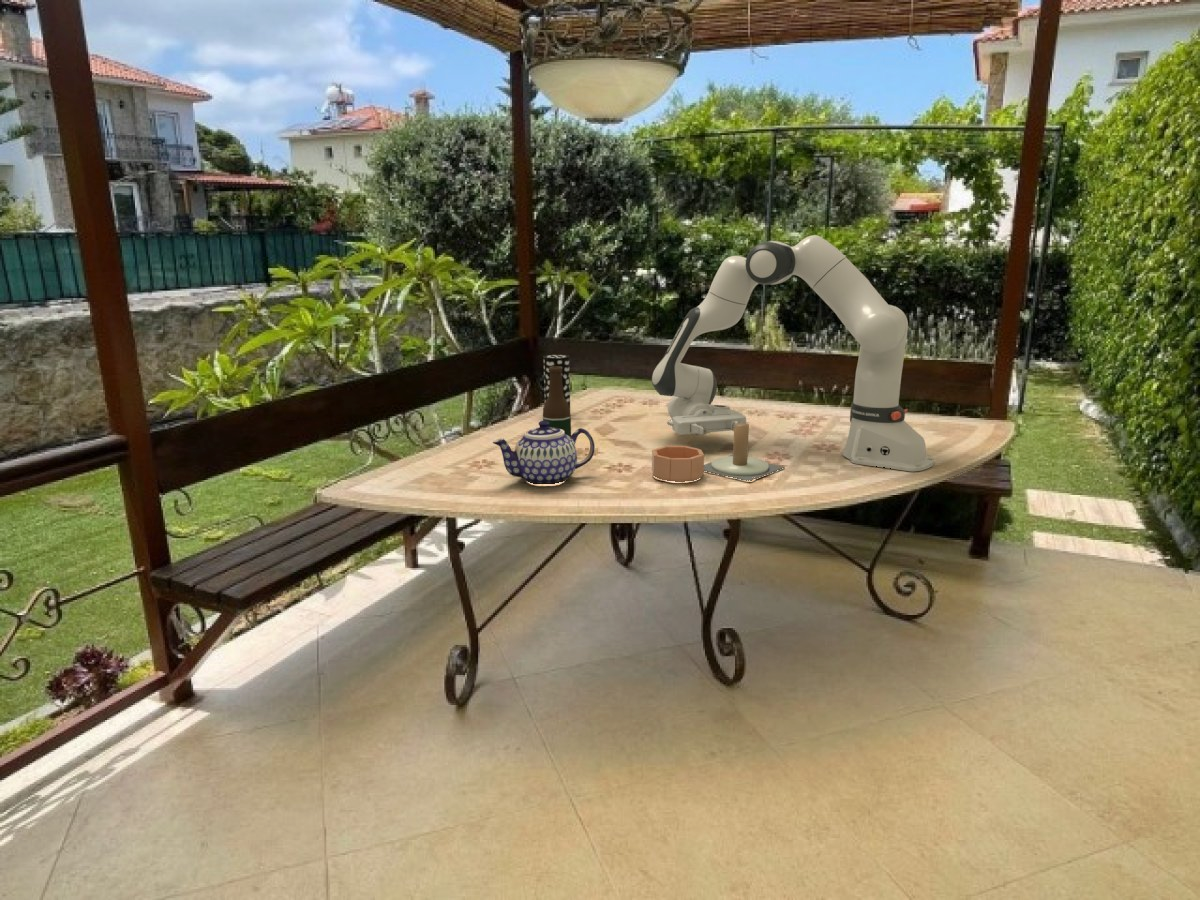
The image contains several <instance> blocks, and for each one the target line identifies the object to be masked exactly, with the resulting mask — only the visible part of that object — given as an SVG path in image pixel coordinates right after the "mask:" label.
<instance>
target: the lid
mask: <svg viewBox="0 0 1200 900" xmlns="http://www.w3.org/2000/svg"><path fill="white" fill-rule="evenodd" d="M749 435H750V424H749V423H747V422H746V423H736V424H734V431H733V444H732V445H733V447H732V456H730V455H728V456H722V457H717V458H714V459H713V460H712V461H711V462H712V466H711V467H712V469H713V470H715V471H717V472H720V473H723V474H728V475H736V476H752V475H759V474H763V473H765V472H767V471H768V468H769V465H768V463H769V462H767V461H765V460H763V459H760V458H757V457H752V456H748V455H749V437H750V436H749Z"/></svg>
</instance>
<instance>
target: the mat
mask: <svg viewBox="0 0 1200 900" xmlns="http://www.w3.org/2000/svg"><path fill="white" fill-rule="evenodd" d="M729 456H733V454H732V455H729ZM767 463H768V465H769V468H768V471H767V472H765V473H763V474H759V475H752V476H736V475H728V474H723V473H720V472H717V471H715V470H713V469H712V467H711V466H712V461H711V462H708V463H704V471H707V472H711V473H715V474H719V475H724V476H728V477H733V478H737V479H741V480H746V481H747V480H748V481H749V480H750V481H752V480H753V479H757V478H759V477H762V476H764V475H767V474H770V473H772V472H775V471H777V470H780V469H782V468H786V467H785V466H783V465H778V464H773V463H769V462H767ZM752 477H753V478H752ZM754 477H755V478H754Z"/></svg>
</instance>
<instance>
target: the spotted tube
mask: <svg viewBox="0 0 1200 900" xmlns="http://www.w3.org/2000/svg"><path fill="white" fill-rule="evenodd" d="M542 359H543V384H544V385H543V390H544V392H543V393H544V403H545V402H546V400H547V399H548V397H549V385H550V372H549V367H552V366H560V367H562V370H563V371H562V372H561V373H562V385H563V394H564V398H565V399H566V401H567V403H568V405H569V408H570V409H571V381H570V380H571V378H570V377H571V376H570V373H571V372H570V366H571V365H570V355H566V354H547V355H543V358H542Z"/></svg>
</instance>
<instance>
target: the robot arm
mask: <svg viewBox="0 0 1200 900" xmlns="http://www.w3.org/2000/svg"><path fill="white" fill-rule="evenodd" d="M794 276H797V277H799V278H801V279H802V280H803V281H804V282H806V284H807V285H808V286H809V287H810V288H811V289H812V290H813V291H814V292H815V293H816V294H817V295H818V297H820V299H821V300H822V301H823V302H824V303H825V304H826V305H827V306H828V307H829V308H830V309H831V310H832V312H834V313H835V315H836V316H837V318H838V319H839V321H841V323H842V325H843V326H844V327H845V328H846V329H847V331H848V332H849V333H850V334H851V336H852V337H853V338H854V339H855V340H856V341H857V343H858V344H859V352H858V353H859V354H858V360H857V365H856V370H855V379H854V389H853V401H852V402H851V404H850V412H849V423H850V425H849V430H848V435H847V439H846V443H845V445H844V448H843V451H842V456H843V457H844V458H847V459H848V460H850V462H851V463H852V464H856V465H861V466H862V465H863V466H871V467H876V466H877V468H883V467H885V468H884V469H890V468H891V470H896V471H904V472H920V471H924V470H928V469H929V468H931V467H933V466H934V465H935V458H934V457H933V456H930V455H927V446H926V441H925V438H924V437H923V436H922V435H921V434H919V432H917V431H916V429H914V428H913V427H912V426H911V425H909V423H908V422H907V421H905V417H906V414H907V413H908V408H905V409H904V408H903V407H902V406H900V404H899V402H900V391H901V383H902V382H901V381H902V375H903V374H902V373H903V367H904V359H905V353H906V352H905V351H906V346H907V336H908V329H909V328H908V327H909V322H908V318H907V315H906V314H905V312H904V311H903V310H902V309H900V308H899V307H897V306H894V305H892V304H888V302H887V301H886V300H885V299H884V298H883V296H881V294H880V293H879V292H878V290H877V289H876V288H875V287H874V286H873V285H872V283H871V282H870V280H869V279H868V278H867V277H866V276H865V275H864V274H863V273H862V272H861V271H860V270H859V269H858V267H856V265H854V264H853V263H852V262H851V260H850V259H848V258H847V256H846V255H844V253H842V251H840V250H839V249H838V248H837V247H835V246H834V245H833V244H832V243H830V242H829V241H828V240H826V239H825V238H823V237H822V236H819V235H817V234H814V235H809V236H806V237H803V239H801V240H800V241H799V242H798V243H797V244H795V245H791V244H789V243H787V242H783V241H779V240H771V241H770V240H769V241H764V242H760V243H757V244H756V245H755V246H754V247H753V248H751V250H750V251H749V252H748V253H747V256H746V257H744V256H742V255H741V256H739V255H731V256H729V257H726V258H725V259H724V260H723V261H722V263H721V265H720V266H719V268H718V270H717V272H716V273H715V275H714V277H713V280H712V282H711V285H710V288H709V290H708V293H706V297H705V298H704V299H703V300H702V301H701V302H700V303H699V305H697V306H696V307H693V308H692V309H689V311H688V313H686V315H685V316H684V318H683V320H682V322H681V324H680V325H679V327H678V328H677V330H676V333H675V335H674V337H673V339H672V340H671V342H670V343H669V346H668V347H667V349H666V351H665V353H664V354H663V356H662V358H661V359H660V360H659V362H658V363H657V364H656V366H655V367H654V369H653V372H652V375H651V384H652V386H653V388H654V390H655V391H656V392H657V393H658V394H659V396H664V397H672V398H671V399H670V400H669V402H668V403H667V412H668V415H669V417H670V418H671V419H670V420H668V421H667V422H666V423H667V425H669V426H670V427H672V431H673V432H674V433H676V434H677V435H680V436H681V435H692V434H694V435H696V436H705V435H707V434H710V433H716V432H717V433H718V432H728V431H732V432H734V424H736V423H746V424H747V417H746V415H745V414H743V413H742V412H740V411H737V410H735V409H731V407H730V406H728V405H721V404H720V405H719V404H712V403H713V401H714V399H715V397H716V393H717V389H718V382H717V379H716V376H715V374H714V372H713V371H712V370H711V368H706V367H701V366H698V365H692V364H687V363H682V360H683V359H684V357H685V355H686V354H687V351H688V349H689V348H690V346H691V344H692V342H693V341H694V340H695V338H697V337H699V336H700V335H702V334H705V333H710V332H715V331H723V330H727V329H729V328H732V327H733V326H735V325H736V324H738V322H739V321H740V320H742V319H741V318H742V317H743V315H744V313H745V311H746V308H747V306H748V303H749V300H750V297H751V295H752V293H753V291H754V289H755V288H756V286H757V285H763V286H768V285H773V286H774V285H778V284H782V283H784V282H787V281H789V280H790V279H791V278H793V277H794Z"/></svg>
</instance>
